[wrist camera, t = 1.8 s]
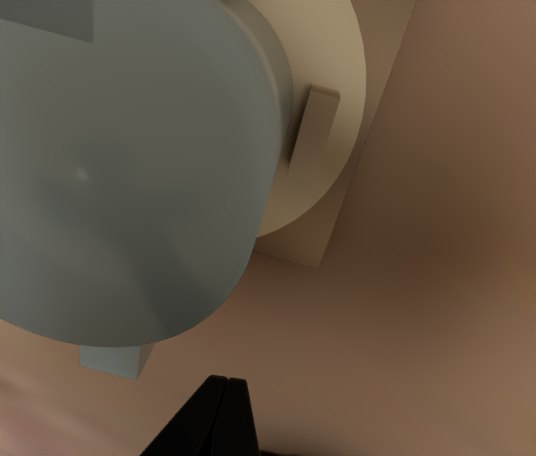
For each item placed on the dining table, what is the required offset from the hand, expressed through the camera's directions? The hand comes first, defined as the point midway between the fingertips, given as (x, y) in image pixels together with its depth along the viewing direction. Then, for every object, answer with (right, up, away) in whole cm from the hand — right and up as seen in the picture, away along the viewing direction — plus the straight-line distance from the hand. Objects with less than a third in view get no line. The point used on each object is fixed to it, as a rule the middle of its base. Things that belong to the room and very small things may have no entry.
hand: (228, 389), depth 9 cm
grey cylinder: (-2, +6, +3) cm, 7 cm away
